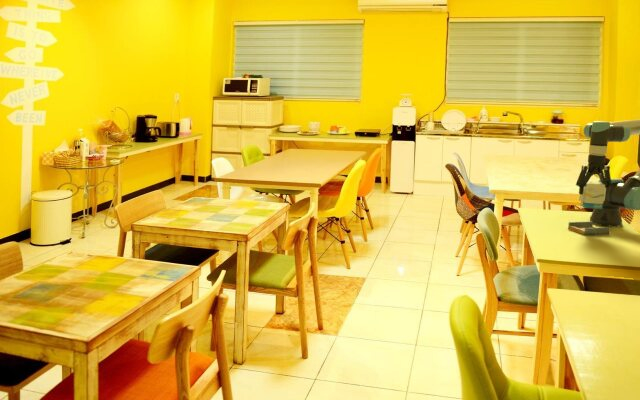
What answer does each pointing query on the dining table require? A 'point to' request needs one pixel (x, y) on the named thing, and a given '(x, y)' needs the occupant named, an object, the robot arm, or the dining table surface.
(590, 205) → the ink box
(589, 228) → the grey and orange tray
